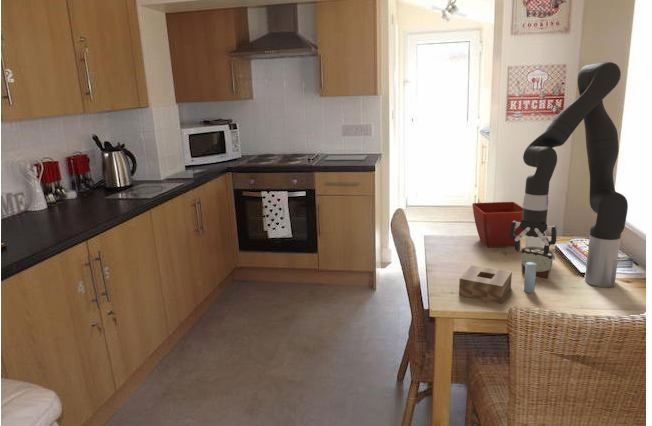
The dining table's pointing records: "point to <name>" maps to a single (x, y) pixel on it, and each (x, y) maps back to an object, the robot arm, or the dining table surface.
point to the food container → (537, 260)
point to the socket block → (485, 283)
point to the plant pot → (497, 222)
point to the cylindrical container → (534, 241)
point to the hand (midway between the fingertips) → (531, 253)
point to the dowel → (530, 277)
